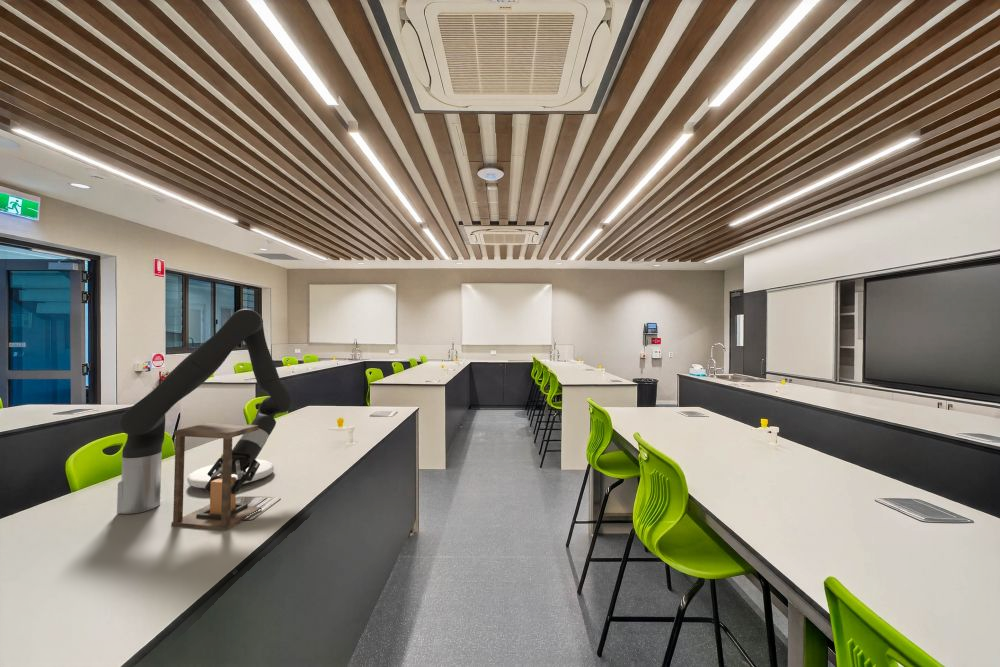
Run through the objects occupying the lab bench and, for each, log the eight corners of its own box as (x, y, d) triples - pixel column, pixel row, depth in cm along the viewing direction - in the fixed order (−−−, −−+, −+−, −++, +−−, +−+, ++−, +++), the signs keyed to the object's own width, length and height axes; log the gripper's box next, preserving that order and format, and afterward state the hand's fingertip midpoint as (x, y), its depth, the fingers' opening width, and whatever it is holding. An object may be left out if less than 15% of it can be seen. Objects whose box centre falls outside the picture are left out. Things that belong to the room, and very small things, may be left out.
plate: (226, 456, 160) (288, 457, 159) (225, 472, 159) (287, 473, 158) (168, 471, 132) (242, 473, 132) (165, 491, 131) (240, 493, 131)
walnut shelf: (212, 506, 122) (214, 421, 123) (261, 510, 119) (263, 423, 120) (171, 525, 109) (174, 430, 110) (225, 530, 106) (228, 433, 107)
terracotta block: (223, 508, 118) (223, 476, 119) (235, 509, 118) (236, 477, 118) (209, 514, 114) (210, 481, 114) (222, 516, 113) (223, 482, 113)
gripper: (225, 437, 125) (191, 485, 113) (263, 439, 123) (232, 488, 111) (238, 449, 130) (206, 495, 118) (275, 451, 128) (246, 499, 116)
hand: (219, 492), depth 115 cm, fingers open, 8 cm apart
